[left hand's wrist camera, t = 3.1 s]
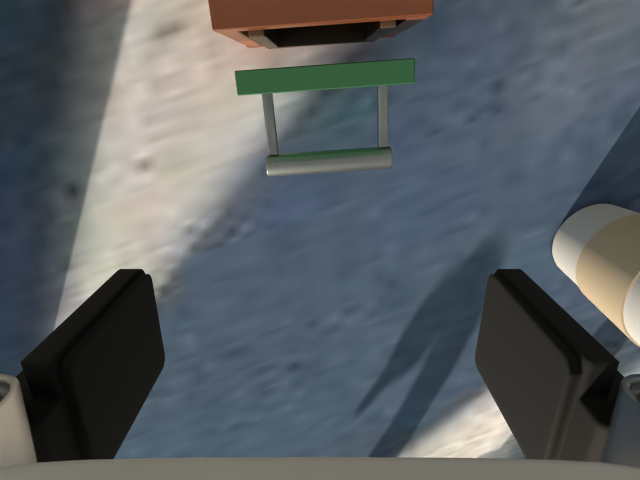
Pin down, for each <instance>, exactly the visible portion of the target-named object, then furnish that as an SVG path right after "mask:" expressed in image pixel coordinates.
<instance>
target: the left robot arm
mask: <svg viewBox="0 0 640 480" xmlns="http://www.w3.org/2000/svg"><path fill="white" fill-rule="evenodd" d="M164 362H165V353H164V347H163V342H162V336H161V330H160V324H159V318H158V312H157V306H156V301H155V295H154V289H153V283H152V278H151V276H150V275H149V274H145V272H144V271H143V270H142V269H120V270H118V271H117V272H116V273H115V274H114V275H113V276H112V277H110V278H109V279H108V280H107V281H106V282H105V283H104V284H103V285H102V286H101V287H100V288H99V289H98V290H97V291H96V292H95V293H93V294H92V295H91V296H90V297H89V298H88V299H87V300H86V301H85V302H84V303H83V304H82V305H81V306H80V307H79V308H78V309H76V310H75V311H74V312H73V313H72V314H71V315H70V316H69V317H68V318H67V319H66V320H65V321H64V322H63V323H62V324H61V325H60V326H58V327H57V328H56V329H55V330H54V331H53V332H52V333H51V334H50V335H49V336H48V337H47V338H46V339H45V340H44V341H43V342H41V343H40V344H39V345H38V346H37V347H36V348H35V349H34V350H33V351H32V352H31V353H30V354H29V355H28V356H27V357H26V358H24V359H23V360H22V361H21V365H22V368H23V371H22V372H21V373H20V374H18V375H17V376H16V377H14V376H11V375H8V374H0V480H640V374H632V375H629V376H626V377H624V376H623V375H622V374H620V373H619V372H618V371H617V368H618V365H619V361H618V360H617V359H616V358H614V357H613V356H612V355H611V354H610V353H609V352H608V351H607V350H606V349H605V348H604V347H603V346H602V345H601V344H600V343H599V342H597V341H596V340H595V339H594V338H593V337H592V336H591V335H590V334H589V333H588V332H587V331H586V330H585V329H584V328H583V327H582V326H580V325H579V324H578V323H577V322H576V321H575V320H574V319H573V318H572V317H571V316H570V315H569V314H568V313H567V312H566V311H565V310H564V309H562V308H561V307H560V306H559V305H558V304H557V303H556V302H555V301H554V300H553V299H552V298H551V297H550V296H549V295H548V294H547V293H545V292H544V291H543V290H542V289H541V288H540V287H539V286H538V285H537V284H536V283H535V282H534V281H533V280H532V279H531V278H530V277H528V276H527V275H526V274H525V273H524V272H523V271H522V270H520V269H498V270H497V271H496V272H495V274H491V275H490V276H489V278H488V283H487V289H486V295H485V301H484V306H483V312H482V318H481V324H480V330H479V336H478V342H477V347H476V353H475V362H476V366H477V369H478V371H479V373H480V374H481V376H482V378H483V380H484V382H485V384H486V385H487V387H488V389H489V391H490V393H491V395H492V396H493V398H494V400H495V402H496V404H497V406H498V407H499V409H500V411H501V413H502V415H503V417H504V418H505V420H506V422H507V424H508V426H509V428H510V429H511V431H512V433H513V435H514V437H515V439H516V440H517V442H518V444H519V446H520V448H521V450H522V451H523V453H524V455H525V457H526V459H487V458H379V457H261V458H153V459H114V457H115V455H116V453H117V451H118V450H119V448H120V446H121V444H122V442H123V440H124V439H125V437H126V435H127V433H128V431H129V429H130V428H131V426H132V424H133V422H134V420H135V418H136V417H137V415H138V413H139V411H140V409H141V407H142V406H143V404H144V402H145V400H146V398H147V396H148V395H149V393H150V391H151V389H152V387H153V385H154V384H155V382H156V380H157V378H158V376H159V374H160V373H161V371H162V369H163V366H164Z"/></svg>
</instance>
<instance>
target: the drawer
mask: <svg viewBox="0 0 640 480" xmlns="http://www.w3.org/2000/svg"><path fill="white" fill-rule="evenodd" d="M395 27H396V20H386V21H372V22H358V23H345V24H331V25H317V26H304V27H290V28H276V29H263V30H249V31H248V32H249V37H250V38H251V39H253V40H255V41H256V42H258V43H259V44H261V45H263V46H264V47H266V48H268V49H276V48H290V47H304V46H318V45H331V44H345V43H359V42H373V41H375V40H377V39H378V38H380V37H381V36H383V35H384V34H386V33H387V32H389V31H390V30H392V29H393V28H395ZM235 78H236V86H237V93H238V95H253V94H262V99H263V108H264V117H265V126H266V135H267V144H268V153H269V155H266V170H267V175H268V176H269V177H270V176H285V175H300V174H315V173H331V172H346V171H361V170H376V169H390V168H391V167H392V150H391V147H390V146H389V147H388V85H395V84H409V83H414V78H415V58H410V59H396V60H382V61H368V62H354V63H340V64H326V65H312V66H298V67H284V68H270V69H256V70H242V71H235ZM367 86H377V114H378V147H374V148H359V149H344V150H329V151H314V152H299V153H284V154H278V143H277V133H276V124H275V114H274V104H273V94H272V93H281V92H295V91H310V90H324V89H338V88H352V87H367Z"/></svg>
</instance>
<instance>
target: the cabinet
mask: <svg viewBox="0 0 640 480" xmlns="http://www.w3.org/2000/svg"><path fill="white" fill-rule="evenodd" d="M208 2H209V8H210V15H211V22H212V29H213V31H215V32H218V33H220V34H222V35H225V36H227V37H229V38H231V39H233V40H235V41H237V42H240V43H242V44H244V45H246V46H247V47H249V48H251V47H264V46H263V45H261V44H259V43H258V42H256V41H255V40H253V39H251V38H250V37H249V32H248V31H249V30H263V29H276V28H290V27H304V26H317V25H331V24H345V23H358V22H372V21H386V20H396V27H395V28H393V29H392V30H390V31H389V32H387V33H386V34H384V35H383V36H381V37H380V38H388V37H394V36H396V35H397V34H399V33H401V32H402V31H404V30H406V29H408V28H410V27H411V26H413V25H415V24H417V23H418V22H420V21H422V20H424V19H425V18H427V17H429V16H430V15H432V14H433V0H208Z"/></svg>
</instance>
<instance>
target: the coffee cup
mask: <svg viewBox="0 0 640 480" xmlns="http://www.w3.org/2000/svg"><path fill="white" fill-rule="evenodd" d="M552 253H553V258H554V261H555V263H556V264H557V266H558V267H559V268H560V269H561V270H562V271H563V272H564V273H565V274H566V275H567V276H568V277H569V278H570V279H571V280H573V281H574V282H575V283H576V284H577V285H578V286H579V288H580V290H581V291H582V293H583V294H584V295H585V296H586V297H587V298H588V299H589V300H590V301H591V302H592V303H594V304H595V305H596V306H597V307H598V308H599V309H600V310H601V311H602V312H603V313H604V314H605V315H606V316H607V317H608V318H609V319H610V320H611V321H612V322H613V323H614V324H615V325H616V326H617V327H618V328H619V329H620V330H621V331H622V332H623V333H624V334H625V335H626V336H627V337H628V338H629V339H630V340H631V341H632V342H634V343H635V344H636V345H637V346H639V347H640V213H638V212H635V211H631V210H628V209H625V208H622V207H618V206H615V205H611V204H595V205H591V206H588V207H585V208H583V209H581V210H579V211H577V212H576V213H574V214H573V215H571V216H570V217H569V218H568V219H567V220H566V221H565V222H564V223H563V224H562V225H561V227H560V228H559V230H558V231H557V233H556V235H555V238H554V241H553V247H552Z"/></svg>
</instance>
